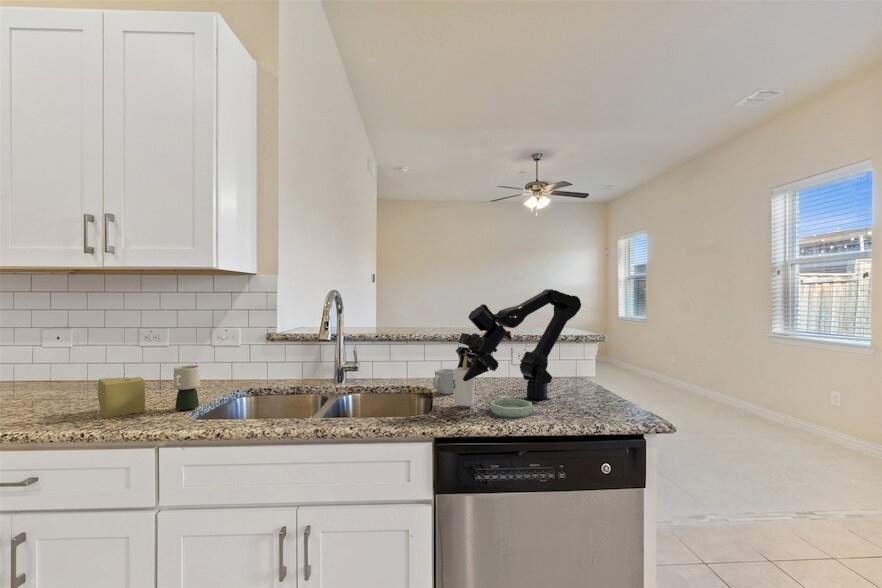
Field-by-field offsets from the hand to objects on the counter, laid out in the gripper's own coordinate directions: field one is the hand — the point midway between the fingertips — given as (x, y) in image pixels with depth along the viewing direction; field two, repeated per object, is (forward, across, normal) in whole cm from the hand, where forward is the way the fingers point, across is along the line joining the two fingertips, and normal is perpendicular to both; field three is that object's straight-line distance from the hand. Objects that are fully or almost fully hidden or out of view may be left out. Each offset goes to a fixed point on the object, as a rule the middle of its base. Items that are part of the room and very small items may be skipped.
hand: (459, 378), depth 137 cm
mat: (-2, +11, +15) cm, 19 cm away
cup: (+4, -21, +10) cm, 24 cm away
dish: (-2, +11, +15) cm, 18 cm away
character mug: (+60, -33, -49) cm, 84 cm away
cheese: (+72, -37, -61) cm, 102 cm away
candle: (+5, 0, +6) cm, 8 cm away
